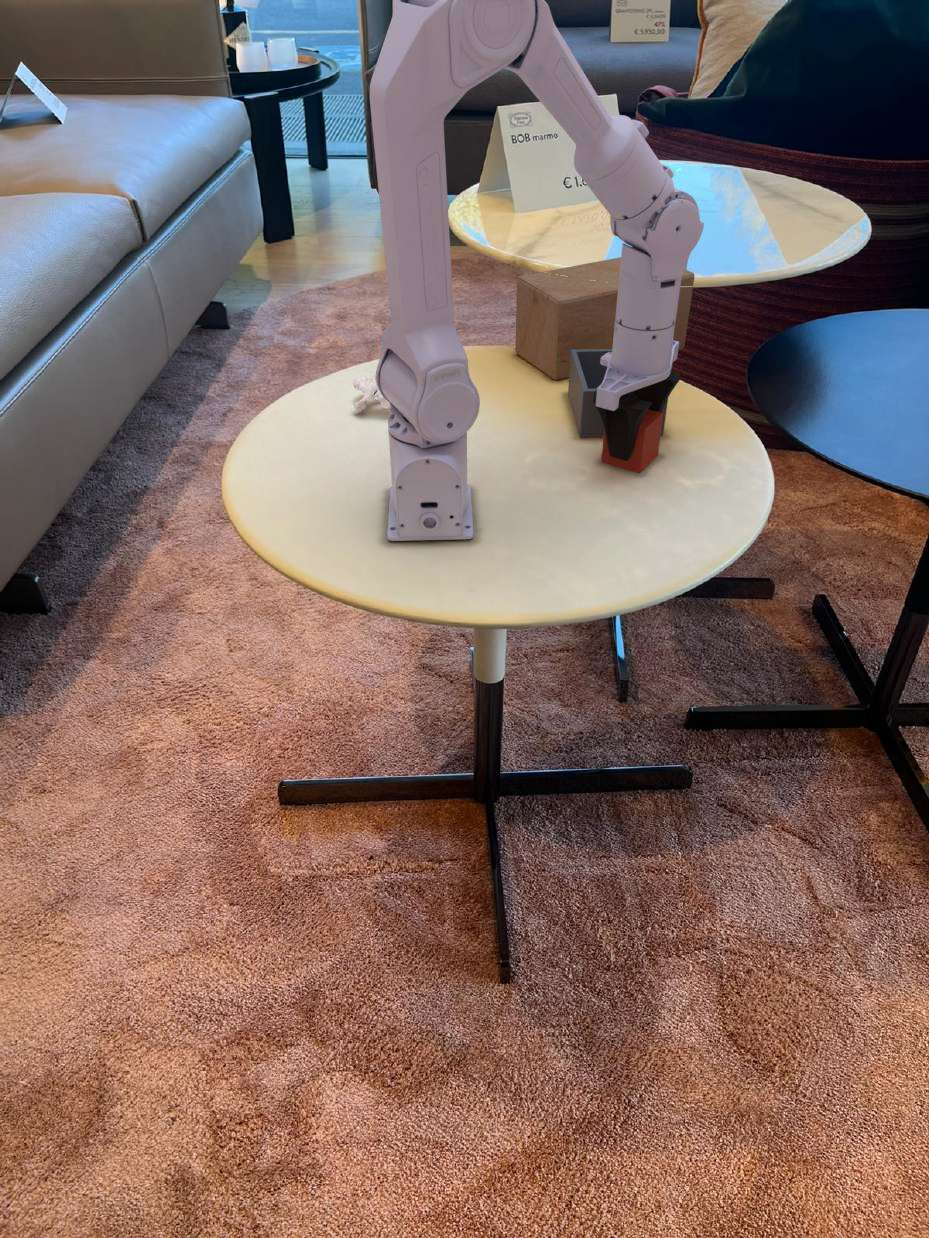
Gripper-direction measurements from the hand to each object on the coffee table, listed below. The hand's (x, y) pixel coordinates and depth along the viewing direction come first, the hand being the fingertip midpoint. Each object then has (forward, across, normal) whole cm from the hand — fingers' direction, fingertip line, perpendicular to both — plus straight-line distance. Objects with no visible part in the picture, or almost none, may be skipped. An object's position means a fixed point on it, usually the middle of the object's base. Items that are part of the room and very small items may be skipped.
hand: (630, 447), depth 97 cm
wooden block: (-4, -15, -21) cm, 26 cm away
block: (+1, 0, 0) cm, 1 cm away
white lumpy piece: (+2, +4, -29) cm, 29 cm away
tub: (+1, -8, -6) cm, 11 cm away
